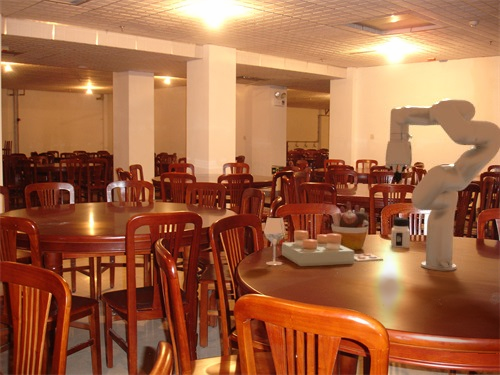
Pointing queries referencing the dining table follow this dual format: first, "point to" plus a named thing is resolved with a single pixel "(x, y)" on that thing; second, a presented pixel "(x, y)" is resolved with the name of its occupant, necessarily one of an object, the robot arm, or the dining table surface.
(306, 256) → the board
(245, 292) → the dining table surface
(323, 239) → the button
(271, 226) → the wineglass
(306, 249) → the button
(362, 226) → the bucket of meat
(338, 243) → the button
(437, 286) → the dining table surface
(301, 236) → the button
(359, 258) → the pattern tile
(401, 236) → the container
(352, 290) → the dining table surface
